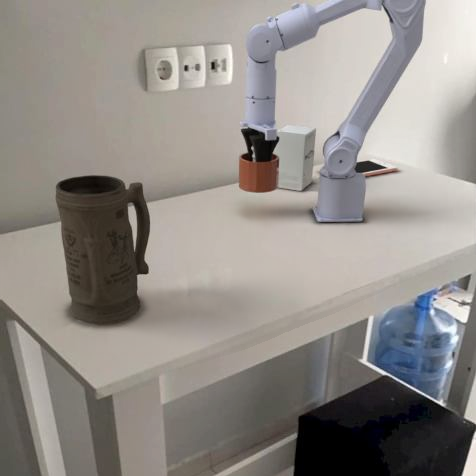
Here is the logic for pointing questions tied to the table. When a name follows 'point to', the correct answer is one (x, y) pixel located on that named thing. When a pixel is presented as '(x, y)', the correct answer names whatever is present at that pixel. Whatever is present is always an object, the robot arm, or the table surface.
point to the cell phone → (373, 167)
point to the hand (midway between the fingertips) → (258, 168)
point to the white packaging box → (295, 156)
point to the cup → (258, 174)
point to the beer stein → (102, 246)
